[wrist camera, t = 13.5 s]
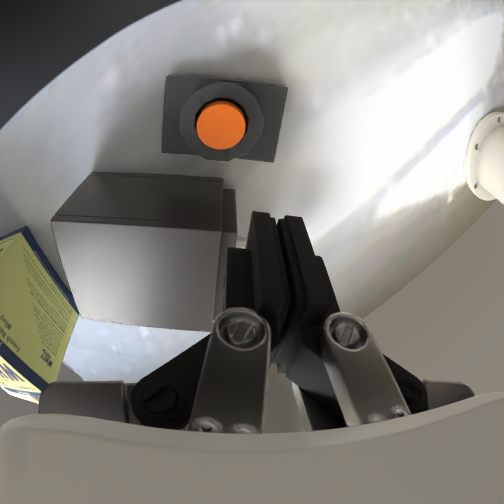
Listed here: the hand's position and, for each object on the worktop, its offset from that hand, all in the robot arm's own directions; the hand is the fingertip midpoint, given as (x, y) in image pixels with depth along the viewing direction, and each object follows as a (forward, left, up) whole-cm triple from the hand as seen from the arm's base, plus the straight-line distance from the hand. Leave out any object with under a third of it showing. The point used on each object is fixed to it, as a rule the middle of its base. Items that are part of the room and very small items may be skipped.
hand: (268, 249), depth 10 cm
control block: (+2, -1, -18) cm, 18 cm away
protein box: (+28, +21, -18) cm, 40 cm away
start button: (+2, -1, -15) cm, 15 cm away
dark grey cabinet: (+8, +11, -18) cm, 23 cm away
